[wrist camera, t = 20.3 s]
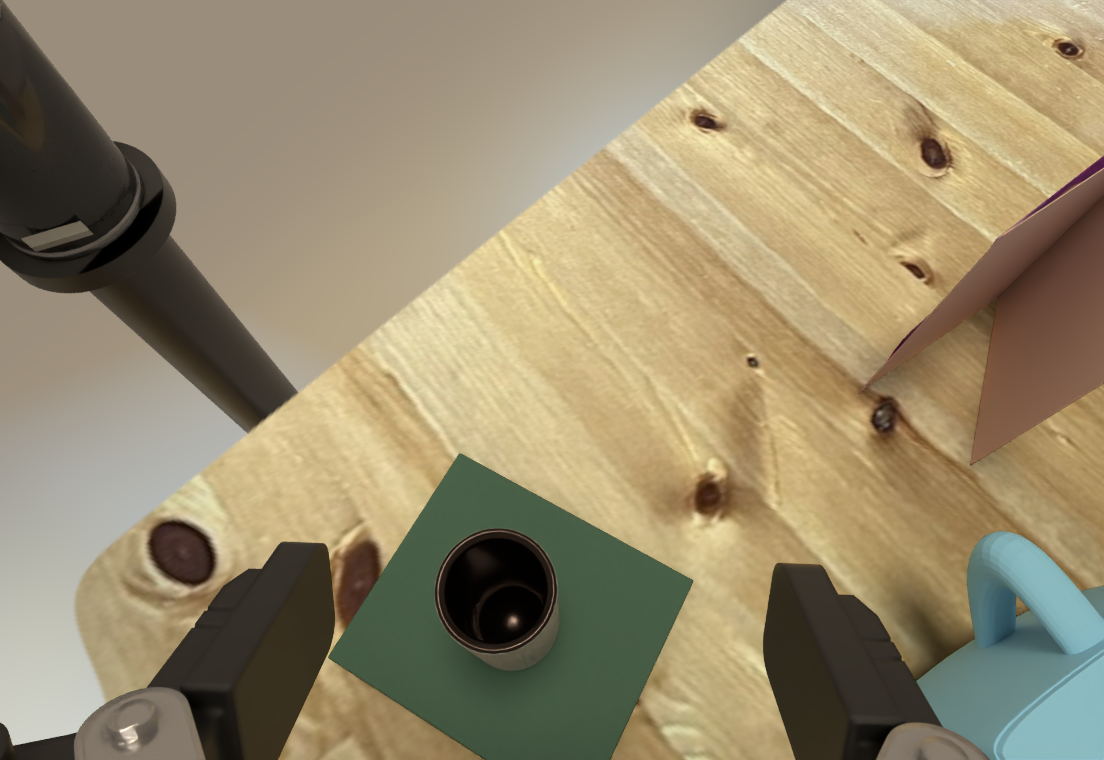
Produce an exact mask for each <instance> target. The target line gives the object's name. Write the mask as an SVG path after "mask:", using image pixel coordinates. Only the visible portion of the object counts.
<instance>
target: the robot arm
mask: <svg viewBox="0 0 1104 760" xmlns="http://www.w3.org/2000/svg"><path fill="white" fill-rule="evenodd" d="M143 200H144V184H143V180H142V178H141V176H140V174H139V172H138V171H137V169H136V168H135V167H134V166H133V164H132V163H131V162H130V161H129V160H128V159H127V158H126V157H125V156H124V155H123V154H122V153H121V151H120V150H119V149H118V148H117V146H116V145H115V144H114V142H113V141H112V140H111V139H110V137H109V136H108V135H107V133H106V132H105V131H104V129H103V128H102V127H101V125H100V124H99V123H98V122H97V120H96V119H95V118H94V116H93V115H92V114H91V113H90V111H89V110H88V109H87V108H86V107H85V105H84V104H83V102H82V101H81V100H80V99H79V97H78V96H77V95H76V93H75V92H74V91H73V90H72V89H71V87H70V86H69V85H68V83H67V82H66V81H65V80H64V78H63V77H62V76H61V75H60V73H59V72H58V71H57V69H56V68H55V67H54V65H53V64H52V63H51V62H50V60H49V59H48V58H47V57H46V55H45V54H44V53H43V51H42V50H41V49H40V48H39V46H38V45H37V44H36V42H35V41H34V40H33V39H32V37H31V36H30V35H29V33H28V32H27V31H26V30H25V28H24V27H23V26H22V25H21V23H20V22H19V21H18V19H17V18H16V17H15V16H14V15H13V13H12V12H11V11H10V9H9V8H8V7H7V5H6V4H5V3H4V2H3V0H0V232H1V233H2V234H3V235H4V237H5V238H6V239H7V240H8V241H9V242H10V243H11V244H12V245H13V246H15V247H16V248H17V249H18V250H19V251H21V252H22V253H24V254H25V255H27V256H29V257H32V258H35V259H39V260H44V261H68V260H74V259H78V258H82V257H85V256H88V255H90V254H93V253H95V252H97V251H99V250H101V249H103V248H105V247H107V246H108V245H110V244H111V243H113V242H114V241H116V240H117V239H118V238H119V237H120V236H122V235H123V234H124V233H125V232H126V231H127V230H128V228H129V227H130V226H131V225H132V224H133V222H134V221H135V219H136V218H137V216H138V214H139V212H140V210H141V207H142V204H143ZM334 626H335V611H334V601H333V590H332V580H331V570H330V560H329V552H328V548H327V546H326V545H325V544H324V543H304V542H281V543H280V544H279V545H278V546H277V548H276V549H275V551H274V552H273V553H272V555H271V556H270V558H269V559H268V561H267V562H266V563H265V565H264V566H263V568H262V569H248V570H246V571H245V572H243V573H242V574H240V575H239V576H237V577H236V578H235V579H233V580H232V581H230V582H229V583H227V584H226V585H224V586H223V588H222V589H221V590H220V592H219V593H218V594H217V595H216V597H215V598H214V599H213V601H212V602H211V603H210V605H209V606H208V610H207V611H204V613H203V614H202V615H201V617H200V618H199V619H198V621H197V622H196V623H195V628H191V630H190V631H189V632H188V634H187V635H186V636H185V638H184V639H183V640H182V642H181V643H180V644H179V646H178V647H177V648H176V650H175V651H174V652H173V654H172V655H171V656H170V658H169V659H168V660H167V661H166V663H165V664H164V665H163V667H162V668H161V669H160V671H159V672H158V673H157V675H156V676H155V677H154V679H153V680H152V681H151V683H150V684H149V685H148V687H147V688H144V689H139V690H135V691H132V692H129V693H126V694H124V695H121V696H119V697H117V698H115V699H113V700H111V701H109V702H108V703H106V704H104V705H103V706H101V707H100V708H99V709H97V710H96V711H95V712H94V713H93V714H91V715H90V717H88V718H87V720H85V722H84V723H83V724H82V726H81V727H80V729H79V731H78V732H77V733H73V734H69V735H65V736H59V737H55V738H50V739H44V740H40V741H34V742H30V743H25V744H20V745H15V746H13V745H12V742H11V738H10V735H9V732H8V730H7V728H6V727H5V726H4V725H3V724H1V723H0V760H278V758H279V756H280V754H281V752H282V750H283V747H284V745H285V743H286V741H287V739H288V737H289V735H290V733H291V730H292V728H293V726H294V724H295V722H296V720H297V718H298V716H299V713H300V711H301V709H302V707H303V705H304V703H305V701H306V699H307V696H308V694H309V692H310V690H311V688H312V686H313V684H314V682H315V679H316V677H317V675H318V673H319V671H320V669H321V667H322V665H323V662H324V660H325V658H326V656H327V654H328V652H329V649H330V646H331V643H332V639H333V634H334ZM763 653H764V662H765V667H766V671H767V675H768V678H769V681H770V684H771V687H772V690H773V693H774V696H775V699H776V702H777V705H778V708H779V711H780V714H781V717H782V720H783V723H784V726H785V729H786V732H787V735H788V738H789V741H790V744H791V747H792V750H793V753H794V756H795V759H796V760H990V759H989V758H988V756H987V755H986V754H985V753H984V752H983V751H982V750H981V749H979V748H978V747H977V746H976V745H975V744H973V743H972V742H970V741H969V740H967V739H966V738H964V737H963V736H961V735H959V734H957V733H955V732H953V731H951V730H948V729H946V728H943V726H942V724H941V723H940V721H939V719H938V718H937V716H936V714H935V712H934V711H933V709H932V707H931V706H930V704H929V702H928V701H927V699H926V697H925V695H924V694H923V692H922V690H921V689H920V687H919V685H918V684H917V682H916V680H915V678H914V677H913V675H912V673H911V672H910V670H909V668H908V667H907V665H906V663H905V662H904V661H902V659H901V657H902V656H901V655H900V653H899V651H898V650H897V648H896V646H895V645H894V643H893V642H891V640H890V636H889V634H888V633H887V631H886V629H885V628H884V626H883V624H882V622H881V621H880V619H879V617H878V616H877V615H876V614H875V613H874V612H873V611H872V610H870V609H869V608H868V607H867V606H866V605H865V604H863V603H862V602H861V601H860V600H859V599H857V598H856V597H855V596H854V595H838V593H837V592H836V590H835V588H834V586H833V584H832V582H831V580H830V578H829V577H828V575H827V573H826V571H825V569H824V568H823V567H822V566H821V565H816V564H791V563H777V564H776V565H775V568H774V571H773V575H772V582H771V589H770V595H769V602H768V609H767V615H766V622H765V628H764V636H763Z"/></svg>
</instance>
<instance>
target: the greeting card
mask: <svg viewBox="0 0 1104 760" xmlns="http://www.w3.org/2000/svg"><path fill="white" fill-rule="evenodd" d="M997 298H998V299H997ZM995 299H997V305H996V311H995V317H994V323H993V329H992V336H991V342H990V348H989V354H988V360H987V366H986V372H985V378H984V384H983V391H982V397H981V403H980V409H979V415H978V421H977V427H976V433H975V440H974V446H973V452H972V458H971V464H970V465H972V464H974V463H976V462H977V461H979V460H980V459H982V458H984V457H985V456H987V455H989V454H990V453H992V452H993V451H995V450H997V449H998V448H1000V447H1002V446H1003V445H1005V444H1006V443H1008V442H1010V441H1011V440H1013V439H1014V438H1016V437H1018V436H1019V435H1021V434H1023V433H1024V432H1026V431H1027V430H1029V429H1031V428H1032V427H1034V426H1036V425H1037V424H1039V423H1040V422H1042V421H1044V420H1045V419H1047V418H1049V417H1050V416H1052V415H1053V414H1055V413H1057V412H1058V411H1060V410H1062V409H1063V408H1065V407H1066V406H1068V405H1070V404H1071V403H1073V402H1075V401H1076V400H1078V399H1079V398H1081V397H1083V396H1084V395H1086V394H1088V393H1089V392H1091V391H1092V390H1094V389H1096V388H1097V387H1099V386H1101V385H1102V384H1104V156H1103V157H1101V158H1100V159H1099V160H1098V161H1096V162H1095V163H1094V164H1092V165H1091V166H1090V167H1089V168H1087V169H1086V170H1085V171H1083V172H1082V173H1081V174H1080V175H1078V176H1077V177H1076V178H1074V179H1073V180H1072V181H1071V182H1069V183H1068V184H1067V185H1065V186H1064V187H1063V188H1061V189H1060V190H1059V191H1058V192H1056V193H1055V194H1054V195H1052V196H1051V197H1050V198H1049V199H1047V200H1046V201H1045V202H1043V203H1042V204H1041V205H1040V206H1038V207H1037V208H1036V209H1034V210H1033V211H1032V212H1031V213H1029V214H1028V215H1027V216H1025V217H1024V218H1023V219H1022V220H1020V221H1019V222H1018V223H1016V224H1015V225H1014V226H1012V227H1011V228H1010V229H1009V230H1007V231H1006V232H1005V233H1003V234H1002V235H1001V236H1000V237H998V238H997V239H996V240H995V242H994V243H993V245H992V246H991V248H990V249H989V250H988V251H987V252H986V253H985V254H984V256H983V257H982V258H981V259H980V260H979V261H978V262H977V263H976V264H975V265H974V267H973V268H972V269H971V270H970V271H969V272H968V273H967V274H966V275H965V276H964V278H963V279H962V280H961V281H960V282H959V283H958V284H957V285H956V286H955V287H954V288H953V290H952V291H951V292H950V293H949V294H948V295H947V296H946V297H945V298H944V299H943V301H942V302H941V303H940V304H939V305H938V306H937V307H936V308H935V309H934V310H933V312H932V313H931V314H929V315H928V316H927V317H926V318H925V319H924V320H923V321H922V322H921V323H919V324H918V325H917V326H916V327H915V328H914V329H913V330H912V331H911V332H910V333H909V334H908V335H907V336H906V337H905V338H904V339H903V340H902V341H901V343H900V344H899V345H898V346H897V348H896V349H895V350H894V352H893V353H892V355H891V356H890V358H889V359H888V361H887V362H886V363H885V364H884V365H883V366H882V367H881V369H880V370H879V371H878V372H877V373H876V374H875V375H874V376H873V377H872V378H871V380H870V381H869V382H868V383H867V384H866V385H865V386H864V387H863V388H862V389H861V390H860V392H862V391H863V390H865V389H866V388H867V387H869V386H870V385H872V384H873V383H875V382H876V381H878V380H879V379H881V378H882V377H883V376H885V375H886V374H888V373H889V372H891V371H892V370H894V369H895V368H897V367H898V366H899V365H901V364H902V363H904V362H905V361H907V360H908V359H910V358H911V357H913V356H914V355H915V354H917V353H918V352H920V351H921V350H923V349H924V348H926V347H927V346H929V345H930V344H931V343H933V342H934V341H936V340H937V339H939V338H940V337H942V336H943V335H945V334H946V333H947V332H949V331H950V330H952V329H953V328H955V327H956V326H958V325H959V324H961V323H962V322H963V321H965V320H966V319H968V318H969V317H971V316H972V315H974V314H975V313H977V312H978V311H979V310H981V309H982V308H984V307H985V306H987V305H988V304H990V303H991V302H993V301H994V300H995ZM860 392H859V393H860Z"/></svg>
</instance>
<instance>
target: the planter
mask: <svg viewBox="0 0 1104 760" xmlns="http://www.w3.org/2000/svg"><path fill="white" fill-rule="evenodd" d="M434 599H435V606H436V610H437V614H438V617H439V619H440V621H441V623H442V625H443V627H444V628H445V630H446V631H447V632H448V634H449V635H450V636H451V637H452V638H453V639H454V640H455V641H456V642H457V643H459V644H460V645H461V646H463V647H464V648H466V649H467V650H468V651H470V652H471V653H473V654H474V655H475V656H477V657H478V658H480V659H481V660H483V661H484V662H485V663H487V664H488V665H490V666H492V667H494V668H497V669H500V670H505V671H518V670H523V669H526V668H529V667H531V666H533V665H535V664H536V663H538V662H539V661H541V660H542V659H543V658H544V657H545V656H546V655H547V653H548V652H549V651H550V649H551V648H552V646H553V644H554V642H555V640H556V637H557V634H558V629H559V604H558V585H557V577H556V573H555V570H554V567H553V564H552V562H551V560H550V558H549V556H548V555H547V553H546V552H545V551H544V549H543V548H542V547H541V546H540V545H539V544H538V543H537V542H536V541H534V540H533V539H532V538H530V537H529V536H527V535H525V534H523V533H521V532H518V531H515V530H511V529H506V528H490V529H485V530H481V531H478V532H475V533H473V534H471V535H469V536H467V537H465V538H464V539H462V540H461V541H460V542H458V543H457V544H456V545H455V546H454V547H453V548H452V549H451V550H450V551H449V553H448V554H447V555H446V557H445V558H444V560H443V562H442V564H441V566H440V568H439V570H438V573H437V577H436V581H435V589H434Z"/></svg>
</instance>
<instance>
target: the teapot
mask: <svg viewBox="0 0 1104 760" xmlns="http://www.w3.org/2000/svg"><path fill="white" fill-rule="evenodd" d="M967 588H968V597H969V604H970V611H971V617H972V623H973V629H974V634H975V639H974V640H972V641H971V642H969V643H968V644H966V645H965V646H963V647H962V648H960V649H959V650H957V651H956V652H954V653H952V654H951V655H950V656H948V657H947V658H946V659H944V660H943V661H942V662H940V663H939V664H937V665H936V666H935V667H933V668H932V669H931V670H930V671H928V672H927V673H926V674H925V675H923V676H922V677H921V678H920V679H918V680H917V681H916V682H917V684H918V685H919V687H920V689H921V690H922V692H923V694H924V695H925V697H926V699H927V701H928V702H929V704H930V706H931V707H932V709H933V711H934V712H935V714H936V716H937V718H938V719H939V721H940V723H941V724H942V726H943V728H946V729H948V730H951V731H953V732H955V733H957V734H959V735H961V736H963V737H964V738H966V739H967V740H969V741H970V742H972V743H973V744H975V745H976V746H977V747H978V748H979V749H981V750H982V751H983V752H984V753H985V754H986V755H987V756H988V758H989V759H990V760H1104V586H1100V587H1095V588H1091V589H1087V590H1083V591H1080V590H1079V589H1078V588H1077V587H1076V586H1075V584H1074V583H1073V582H1072V581H1071V580H1070V579H1069V578H1068V576H1067V575H1066V574H1065V573H1064V572H1063V571H1062V570H1061V569H1060V568H1059V567H1058V565H1057V564H1056V563H1055V562H1054V561H1053V560H1052V559H1051V558H1050V557H1049V556H1048V555H1047V554H1045V553H1044V552H1043V551H1042V550H1041V549H1040V548H1038V547H1037V546H1036V545H1035V544H1033V543H1032V542H1030V541H1029V540H1027V539H1025V538H1023V537H1022V536H1020V535H1018V534H1014V533H1010V532H1006V531H999V532H994V533H990V534H988V535H986V536H984V537H983V538H982V539H981V540H980V541H979V542H978V543H977V544H976V546H975V547H974V549H973V551H972V553H971V556H970V559H969V564H968V570H967ZM1016 595H1017V596H1018V597H1019V598H1020V599H1021V600H1022V602H1023V603H1024V604H1025V605H1026V606H1027V607H1028V608H1029V609H1030V611H1028V612H1025V613H1023V614H1021V615H1019V616H1017V617H1016Z"/></svg>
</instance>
